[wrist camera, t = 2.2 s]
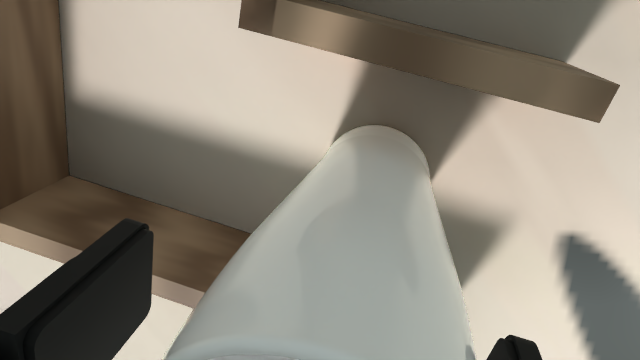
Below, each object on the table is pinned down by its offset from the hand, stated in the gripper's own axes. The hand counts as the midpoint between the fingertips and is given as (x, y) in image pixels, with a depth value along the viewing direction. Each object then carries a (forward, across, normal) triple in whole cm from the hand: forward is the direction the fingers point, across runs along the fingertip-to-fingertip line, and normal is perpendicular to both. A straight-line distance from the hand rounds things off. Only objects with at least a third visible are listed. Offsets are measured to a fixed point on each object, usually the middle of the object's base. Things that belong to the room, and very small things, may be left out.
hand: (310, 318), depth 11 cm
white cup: (+11, -1, 0) cm, 11 cm away
